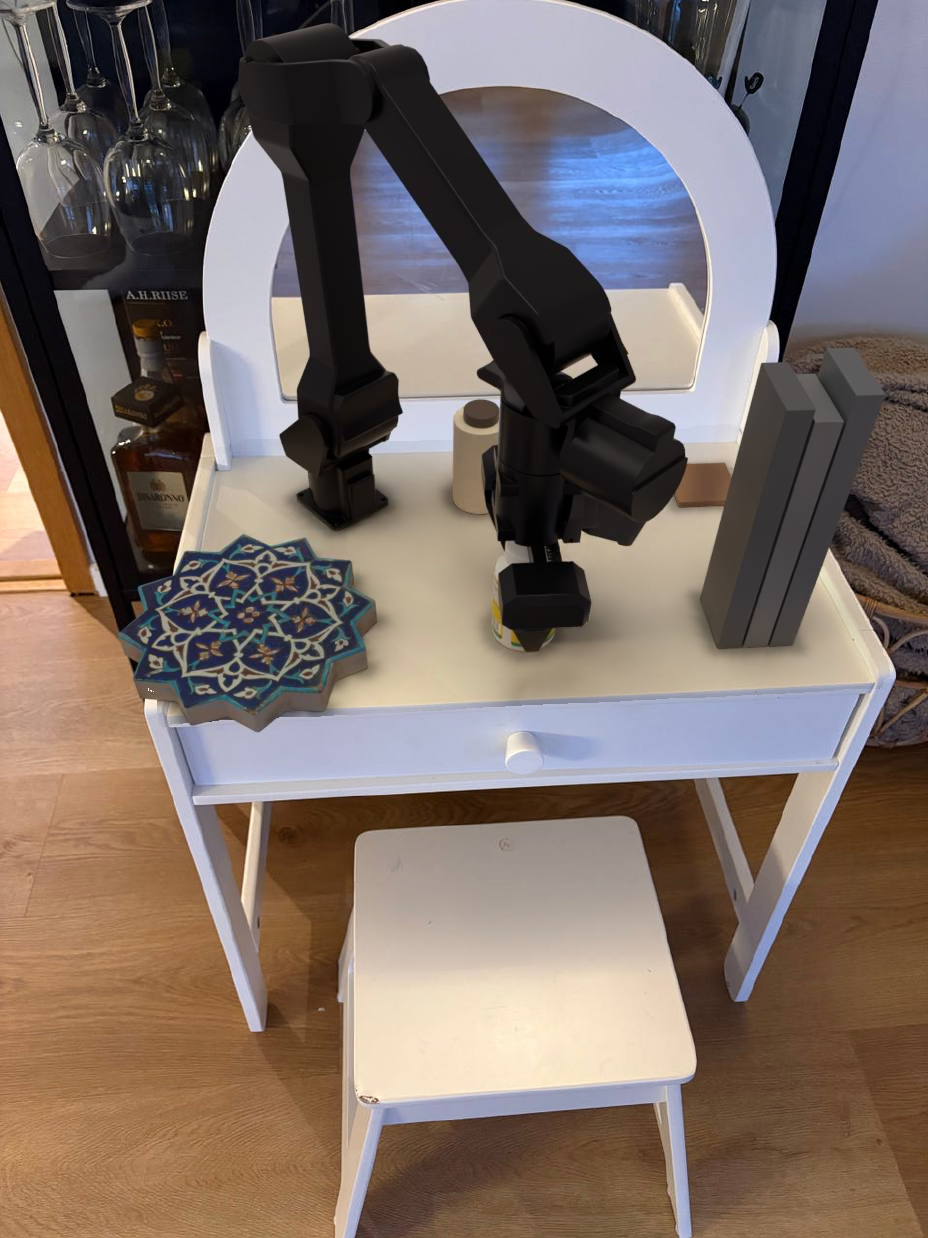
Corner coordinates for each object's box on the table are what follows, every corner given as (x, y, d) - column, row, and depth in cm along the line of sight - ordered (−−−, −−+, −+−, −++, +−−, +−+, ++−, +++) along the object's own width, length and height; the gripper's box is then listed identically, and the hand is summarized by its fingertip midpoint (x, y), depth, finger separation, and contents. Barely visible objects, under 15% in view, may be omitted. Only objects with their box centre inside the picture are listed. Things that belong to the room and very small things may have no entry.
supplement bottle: (478, 635, 81) (481, 547, 75) (514, 599, 85) (520, 512, 78) (533, 663, 79) (541, 576, 72) (567, 625, 82) (579, 538, 76)
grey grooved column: (793, 645, 81) (886, 394, 64) (717, 648, 81) (790, 397, 64) (771, 595, 85) (854, 347, 68) (699, 598, 85) (764, 349, 68)
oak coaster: (678, 506, 94) (679, 502, 93) (665, 469, 98) (666, 464, 98) (740, 504, 94) (741, 499, 94) (724, 467, 98) (725, 462, 98)
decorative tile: (103, 596, 84) (96, 576, 82) (322, 529, 90) (319, 509, 88) (165, 769, 71) (158, 750, 70) (413, 677, 78) (412, 657, 76)
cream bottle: (441, 495, 94) (441, 406, 87) (480, 475, 97) (483, 387, 90) (476, 521, 92) (479, 431, 85) (515, 499, 94) (521, 410, 87)
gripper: (680, 534, 63) (645, 692, 74) (626, 377, 76) (603, 532, 87) (508, 540, 62) (498, 698, 73) (483, 381, 75) (478, 536, 87)
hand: (524, 609), depth 80 cm, fingers open, 9 cm apart
